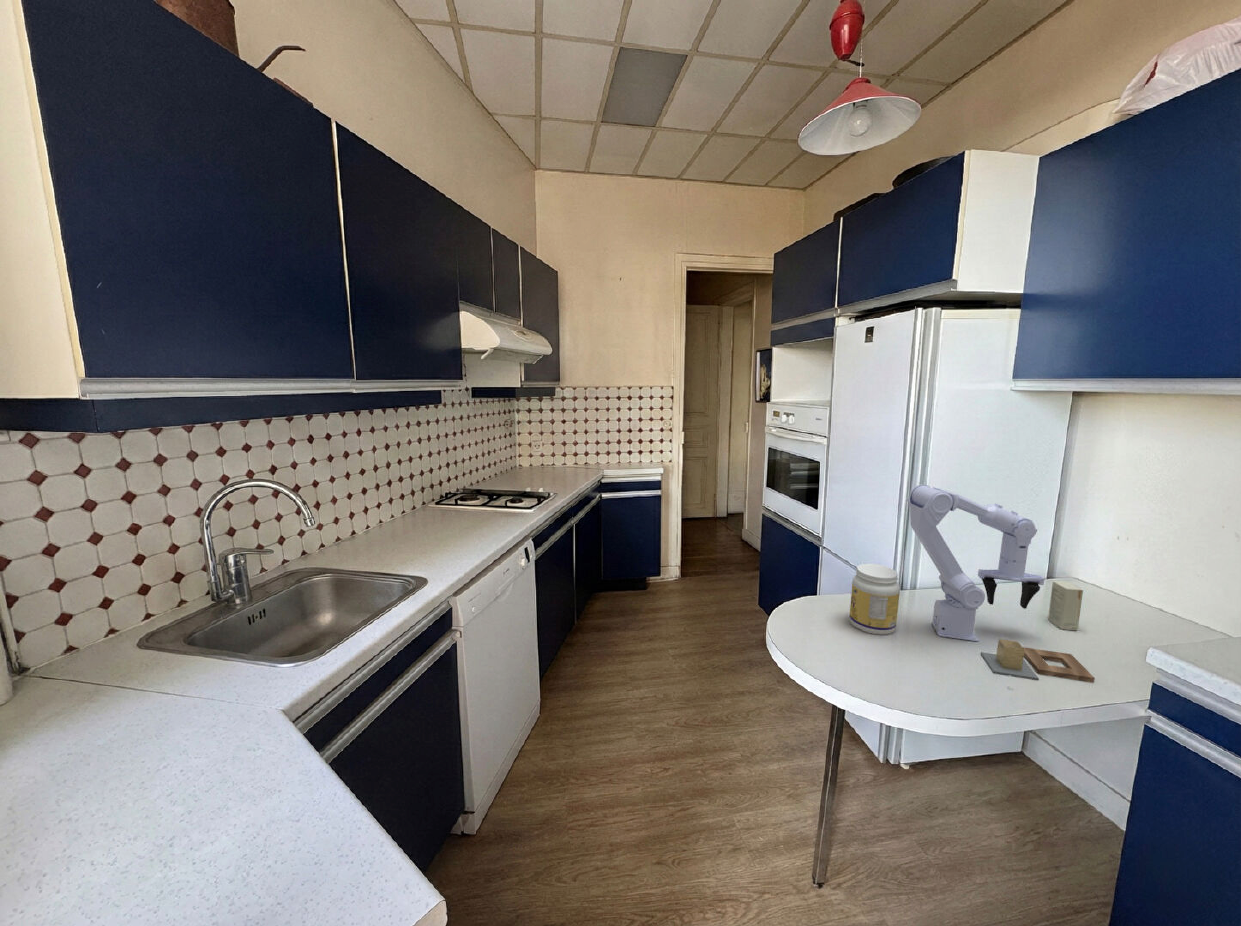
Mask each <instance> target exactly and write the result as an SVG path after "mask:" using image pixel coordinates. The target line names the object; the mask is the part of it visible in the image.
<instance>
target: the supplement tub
mask: <svg viewBox="0 0 1241 926" xmlns="http://www.w3.org/2000/svg"><path fill="white" fill-rule="evenodd" d="M898 575H899V574H898V572H897V571H896V570H895V569H893V568H891V567H888V566H886V565H881V564H876V563H863V564H859V565H857V567H856V571H855V575H854V576H853V578H852V583H851V594H850V595H851V596H850V605H849V621H850V623H851V624H852V625H853V626H854V627H855V628H857V629H858V628H859V630H860V629H861V631H863V632H865V633H869V634H872V633H873V634H874V635H890V634H892V633H894V632H895V631H896V628H897V621H898V612H899V604H900V603H899V602H900V594H901V593H900V592H901V586H900V584H899V582H898V580H899V578H898Z"/></svg>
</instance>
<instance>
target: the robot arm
mask: <svg viewBox="0 0 1241 926" xmlns="http://www.w3.org/2000/svg"><path fill="white" fill-rule="evenodd" d="M906 501H907V502H908V506H909V512H910V513H909V514H910V515H909V516H910V519H909V520H910V526H911V528H912V530H913V532H914V534H916V535H915V536H916V537H917V539H918V540H919V541H920V543H921V544H922V546H923V548H924V549H925V551H926V552H927V555H928V556H929V558H930V559H931V561H932V563H933V564H934V565H935V567H936V569H937V571H938V573H939V576H938V579H939V580H940V581H939V582H940V588H941V590H942V592H943V593H944V599H935V602H934V605H933V615H932V622H931V625H932V626H933V629H934V630H935V631H936V634H937V635H938V636H939V637H943V638H944V637H945V638H951V639H952V638H953V639H959V640H965V641H973V642H979V639H978V637H977V636H976V634H975V633H974V630H975V622H976V614H977V610H978V609H979V607H981V606H982V605H983V604H984V602H985V599H986V598H987V599H986V600H987V603H988V604H989V605H991V606H993V605H994V603H995V594H996V589H997V586H998V584H997V583H996V580H1000V581H1001V580H1002V581H1011V582H1019V583H1021V596H1020V601H1019V605H1020V607H1021V608H1022V609H1025V610H1026V609H1027V607H1028V606H1029V603H1030V601H1031V600H1032V599H1033V598H1034V596H1035V595H1036V594H1037V593H1038V592H1039V591H1040V589H1041V586H1044V584H1045V577H1043V576H1042V575H1039V574H1038V575H1037V574H1032V573H1026V566H1027V565H1026V564H1027V559H1028V558H1027V557H1028V552H1029V546H1030V545H1031V543H1032V539H1033V538H1034V537H1035V536H1036V535H1037V532H1038V529H1037V528H1036V525H1035V523H1034V522H1033V520H1031V519H1029V518H1027V517H1024V516H1021V515H1019V513H1018V512H1016V511H1013V510H1011V511H1008V510H1007V509H1005V508H1003V505H1001V504H998V503H994V504H993V503H987V504H985V505H983V504H980V503H978V502H975V501H973V500H971V499H969V498H967V497H965V496H962V495H960V494H957V493H955V492H952V491H950V490H949V491H948V490H946V489H945V490H944V489H942V488H938V487H931V486H929V485H928V484H918V485H915V486H914V487H913V488H912V489H911V490H910V493H909V495H908V498H907V499H906ZM957 509H958V510H961V511H964V512H966V513H968V514H971V515H974V516H977V519H978V521H979V523H980V524H982V525H985V526H988V527H990V528H992V529H995V530H997V531H999V532H1002V538H1001V545H1000V546H1001V547H1000V552H999V553H1000V554H999V561H998V566H997V567H998V568H997V569H982V568H981V569H980V568H979V569H978V572H977V576H978V577H979V579H981V581H982V584H983V586H984V589H985V591H984V590H983V589H982V588H980V587H979V586H977V585H976V584H975V583H974V580H972V579H971V578H970V577H969V576H968V575H967V574H966V573H965V572H964V571H963V569H962V568H961V566H960V564H959V562H958V561H957V558H956V557H955V556H954V553H952V551H951V549H950V547H949V545H948V544H947V543H946V541H945V539H944V538H943V536H942V535H941V532H939V529H938V528H937V526H938V525H939V524H940V523H941V521H942V520H943V519H944V518H945V517H946V516H947V514H949V512H954V511H956V510H957ZM1040 585H1041V586H1040ZM985 593H986V594H985Z"/></svg>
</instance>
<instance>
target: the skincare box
mask: <svg viewBox="0 0 1241 926" xmlns="http://www.w3.org/2000/svg"><path fill="white" fill-rule="evenodd" d="M1083 595H1084V590H1083V589H1082V588H1080V587H1078V586H1077V585H1075V584H1073V583H1072V582H1070V581H1056V580H1053V581H1052V586H1051V593H1050V600H1049V609H1048V617H1047V621H1049V622H1050V623H1052V624H1053V625H1054V626H1056V627H1058V628H1059V629H1060V630H1067V631H1078V629H1079V625H1080V624H1079V623H1080V615H1081V608H1082V601H1083Z"/></svg>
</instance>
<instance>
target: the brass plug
mask: <svg viewBox="0 0 1241 926" xmlns="http://www.w3.org/2000/svg"><path fill="white" fill-rule="evenodd" d="M1023 647H1024V646H1022V645H1021V644H1020V642H1019V641H1017V640H1008V639H1001V638H998V641H997V648H996V660H997V661H998V663H999V664H1000V665H1001V667H1002V668H1008V669H1014V670H1021V671H1022V665H1023V659H1024V658H1025V657H1024V652H1025V650H1024V648H1023Z"/></svg>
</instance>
